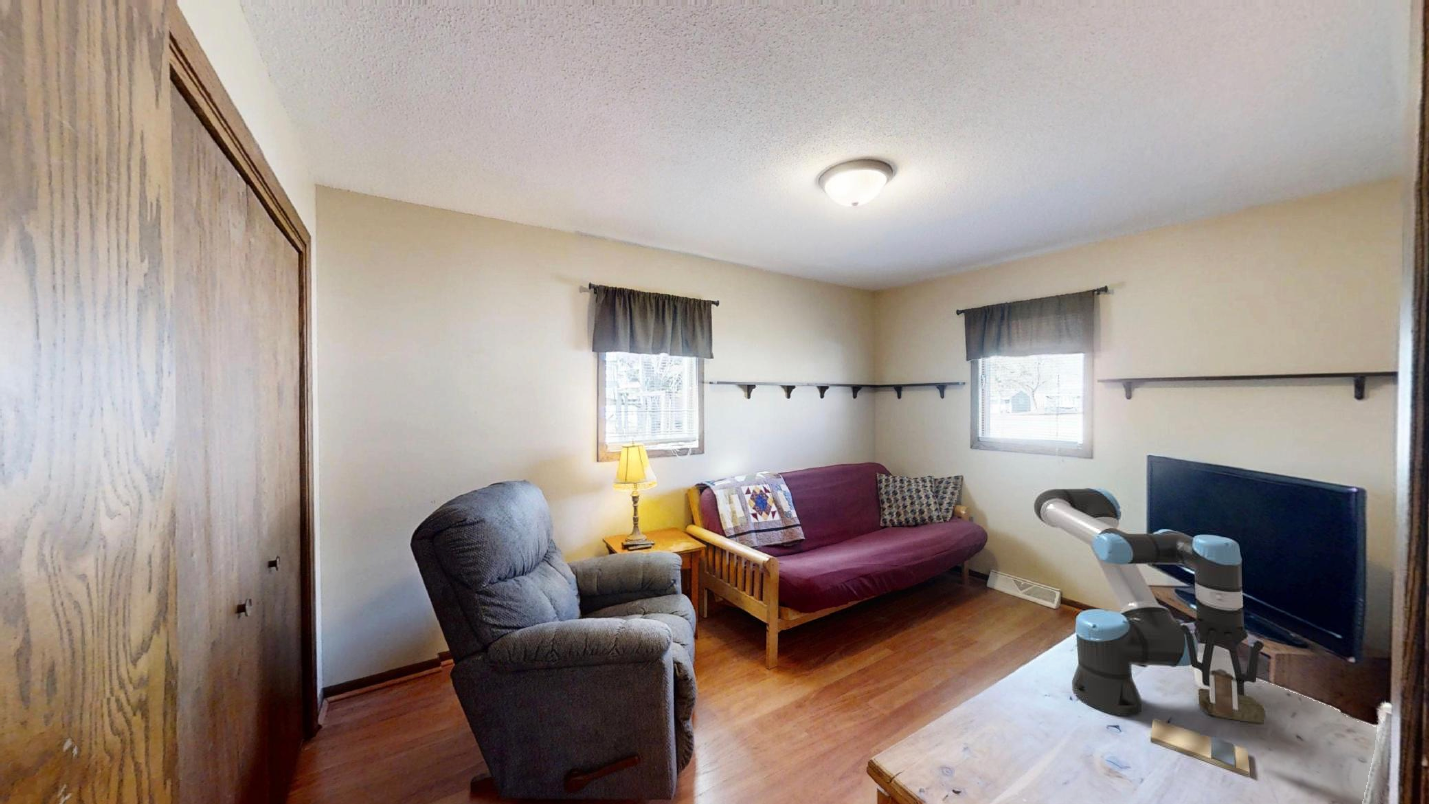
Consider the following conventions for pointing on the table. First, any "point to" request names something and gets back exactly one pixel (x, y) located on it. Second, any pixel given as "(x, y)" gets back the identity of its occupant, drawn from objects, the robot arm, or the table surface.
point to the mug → (1214, 663)
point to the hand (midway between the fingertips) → (1223, 703)
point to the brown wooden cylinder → (1223, 693)
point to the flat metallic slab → (1201, 747)
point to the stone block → (1246, 709)
